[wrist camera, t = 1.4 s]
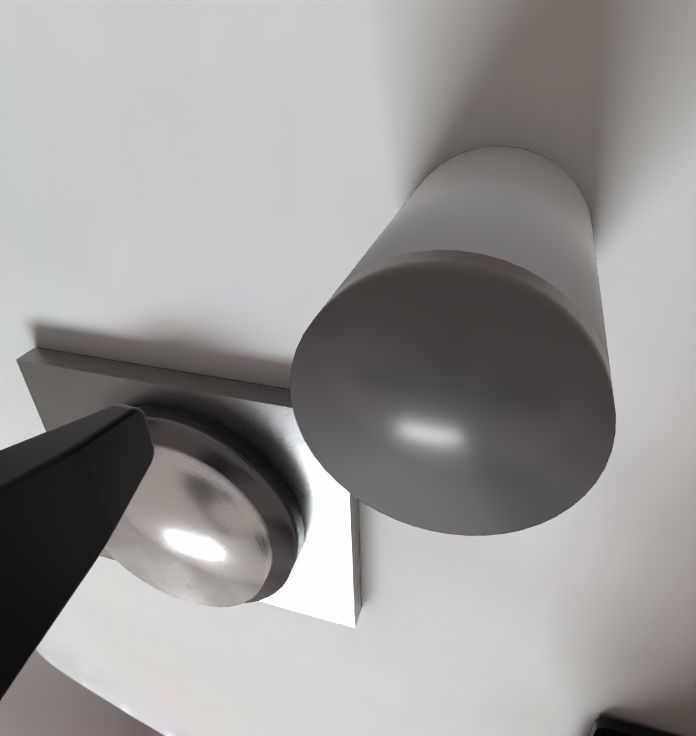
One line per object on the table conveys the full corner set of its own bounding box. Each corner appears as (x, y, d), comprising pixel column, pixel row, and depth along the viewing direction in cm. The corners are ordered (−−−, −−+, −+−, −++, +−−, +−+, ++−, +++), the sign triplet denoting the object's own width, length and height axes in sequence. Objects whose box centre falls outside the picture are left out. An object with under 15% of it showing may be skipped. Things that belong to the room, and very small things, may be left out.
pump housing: (612, 149, 13) (658, 291, 7) (572, 336, 16) (577, 563, 9) (402, 142, 14) (275, 256, 8) (399, 315, 17) (301, 501, 11)
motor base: (355, 400, 19) (326, 456, 17) (361, 608, 26) (340, 670, 23) (34, 347, 23) (-26, 387, 21) (110, 540, 30) (71, 587, 27)
